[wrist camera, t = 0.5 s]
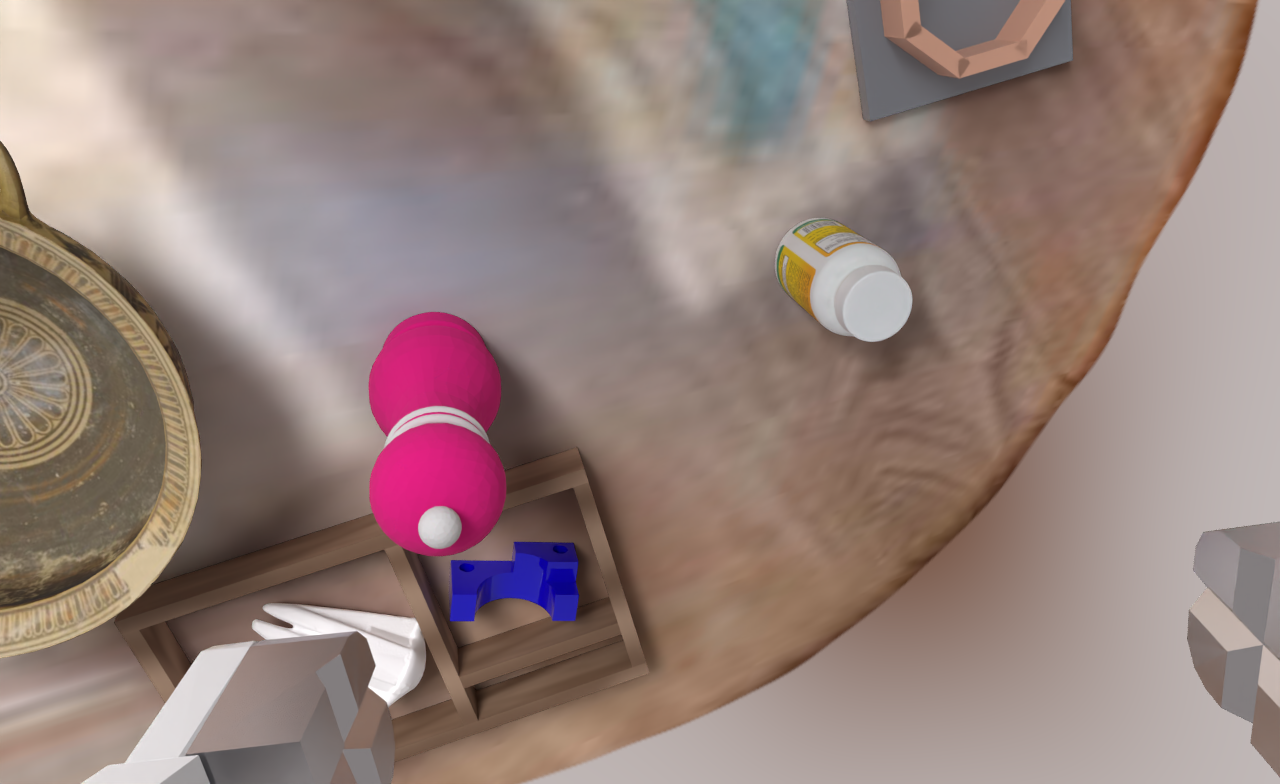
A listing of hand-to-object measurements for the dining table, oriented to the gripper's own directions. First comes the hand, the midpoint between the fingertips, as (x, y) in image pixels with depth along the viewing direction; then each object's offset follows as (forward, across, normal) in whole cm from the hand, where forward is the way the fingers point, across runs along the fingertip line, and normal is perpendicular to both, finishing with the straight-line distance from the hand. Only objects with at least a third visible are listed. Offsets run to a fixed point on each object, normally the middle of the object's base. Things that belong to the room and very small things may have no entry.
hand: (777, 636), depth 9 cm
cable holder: (+47, +14, +27) cm, 56 cm away
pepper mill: (+45, +15, +12) cm, 49 cm away
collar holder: (+51, -18, -5) cm, 54 cm away
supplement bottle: (+50, -8, +10) cm, 52 cm away
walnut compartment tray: (+45, +21, +30) cm, 58 cm away
